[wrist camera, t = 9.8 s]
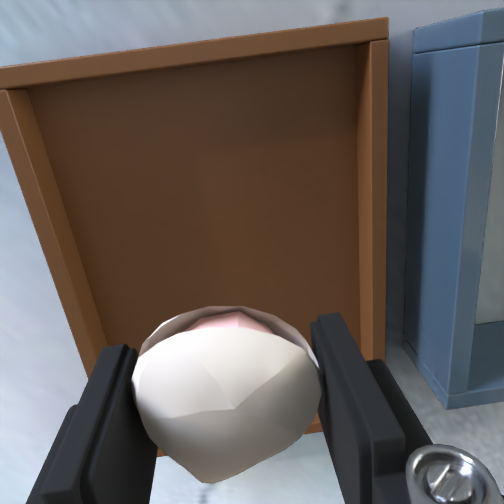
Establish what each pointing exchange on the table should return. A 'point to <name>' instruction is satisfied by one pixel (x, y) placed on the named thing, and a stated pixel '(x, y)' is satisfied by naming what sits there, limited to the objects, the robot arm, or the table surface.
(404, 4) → the table surface
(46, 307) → the table surface
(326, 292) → the tray
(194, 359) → the white teardrop piece
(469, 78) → the basin
